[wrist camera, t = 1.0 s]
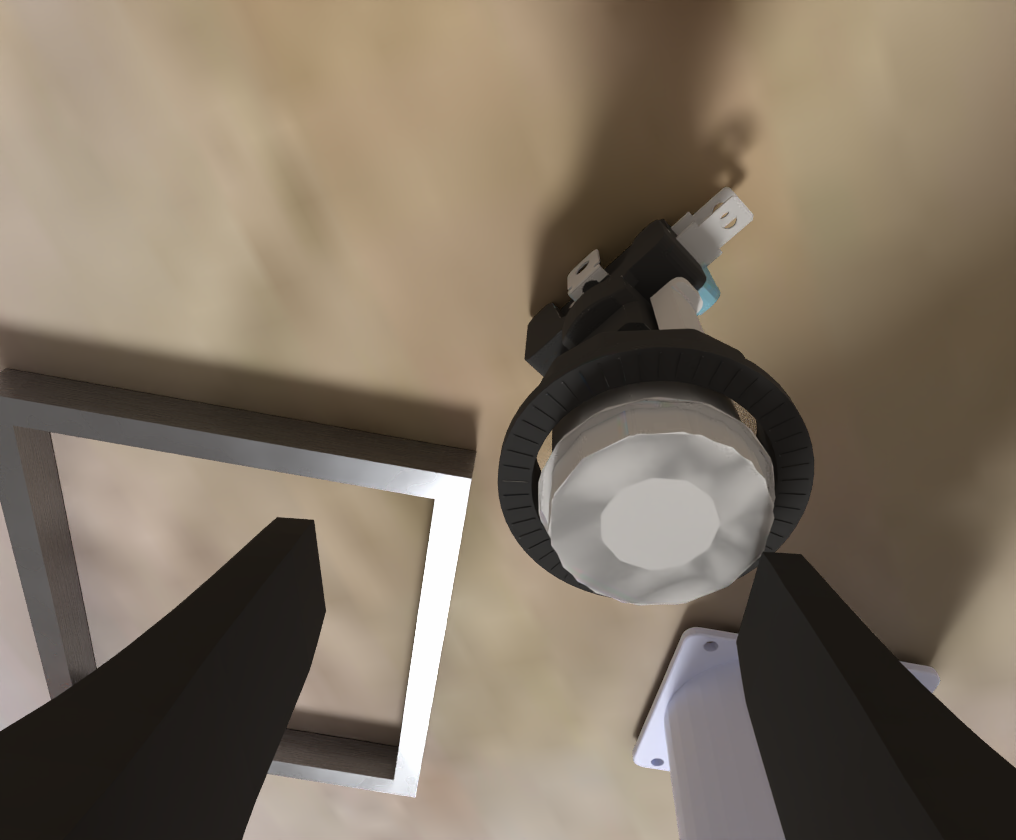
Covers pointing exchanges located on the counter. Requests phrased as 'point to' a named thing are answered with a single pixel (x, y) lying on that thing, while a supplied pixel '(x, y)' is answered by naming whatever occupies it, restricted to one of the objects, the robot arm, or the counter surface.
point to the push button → (651, 429)
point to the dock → (243, 441)
